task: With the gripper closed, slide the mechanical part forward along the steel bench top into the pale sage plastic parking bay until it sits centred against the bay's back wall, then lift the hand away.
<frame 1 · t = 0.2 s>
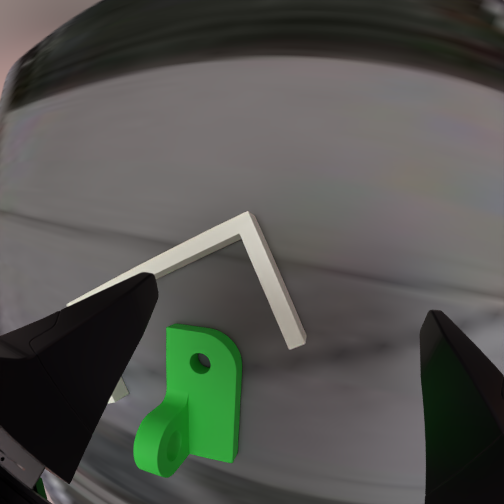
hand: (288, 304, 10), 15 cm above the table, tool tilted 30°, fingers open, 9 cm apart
parking bay: (176, 320, 26), on the table
mechanical part: (208, 391, 26), on the table
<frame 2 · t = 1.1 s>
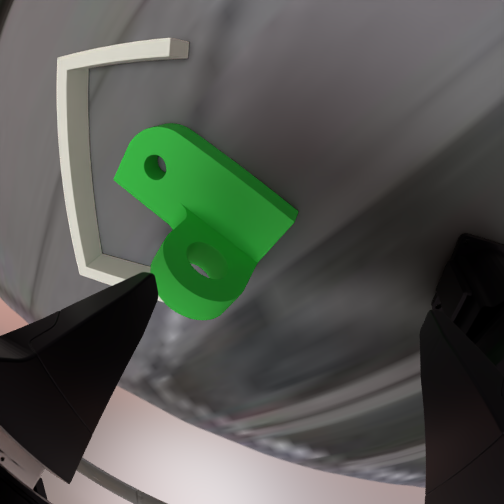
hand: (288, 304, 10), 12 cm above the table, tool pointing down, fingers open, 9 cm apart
parking bay: (127, 170, 23), on the table
mechanical part: (206, 187, 22), on the table
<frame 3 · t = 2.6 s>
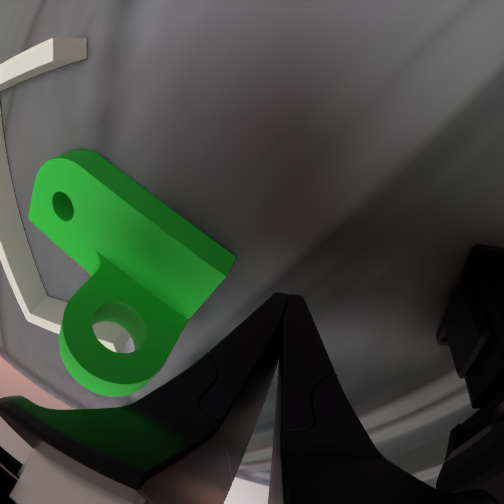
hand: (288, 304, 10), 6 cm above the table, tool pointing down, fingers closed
parking bay: (48, 204, 17), on the table
mechanical part: (127, 224, 17), on the table
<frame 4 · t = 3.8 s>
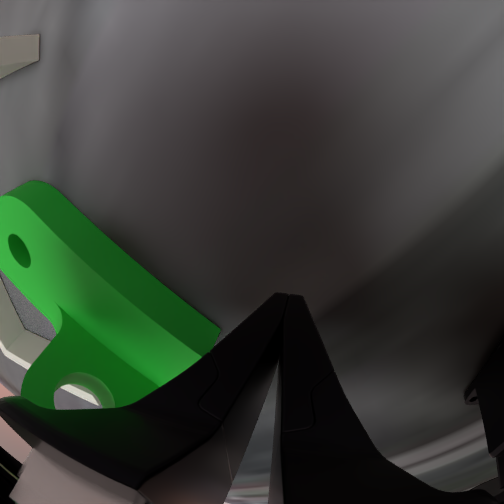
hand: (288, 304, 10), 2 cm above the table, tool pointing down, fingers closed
mug: (494, 485, 19), on the table
parking bay: (12, 235, 14), on the table
mechanical part: (94, 273, 14), on the table
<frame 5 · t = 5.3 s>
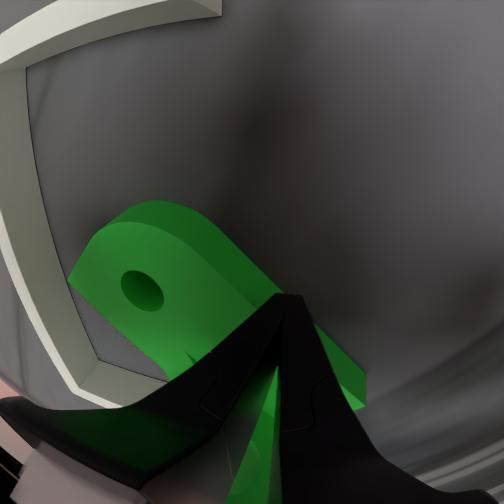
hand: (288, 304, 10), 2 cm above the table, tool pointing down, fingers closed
parking bay: (113, 251, 12), on the table
mechanical part: (227, 315, 13), on the table, touching gripper
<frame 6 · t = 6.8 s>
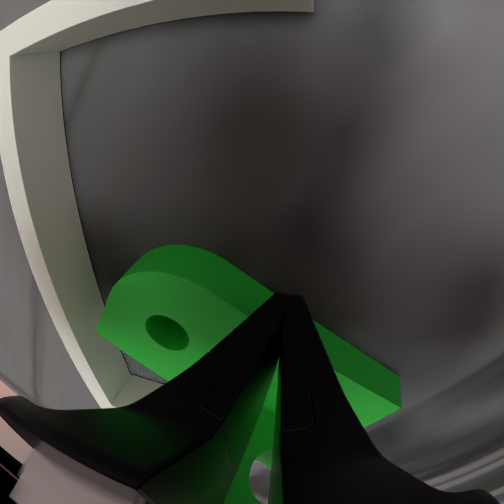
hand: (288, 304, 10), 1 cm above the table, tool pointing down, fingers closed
parking bay: (165, 261, 12), on the table
mechanical part: (254, 341, 13), on the table
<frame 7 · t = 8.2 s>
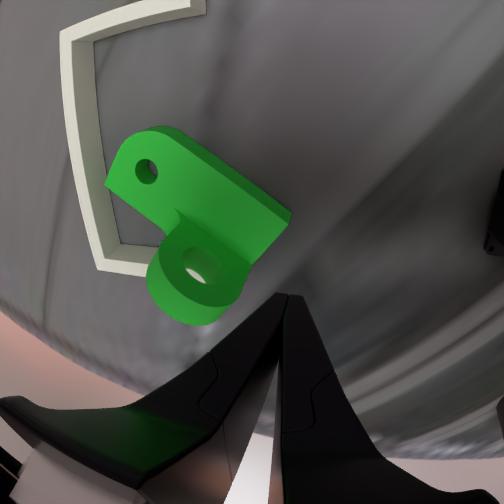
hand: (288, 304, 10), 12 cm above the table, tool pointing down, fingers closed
parking bay: (144, 142, 20), on the table
mechanical part: (198, 189, 22), on the table
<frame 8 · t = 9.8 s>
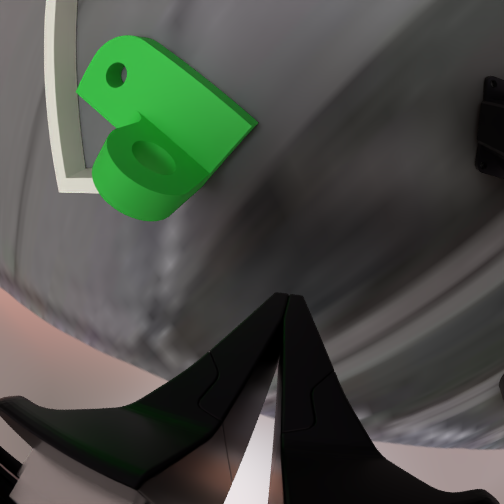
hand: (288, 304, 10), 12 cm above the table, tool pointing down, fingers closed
parking bay: (114, 59, 18), on the table
mechanical part: (166, 99, 19), on the table
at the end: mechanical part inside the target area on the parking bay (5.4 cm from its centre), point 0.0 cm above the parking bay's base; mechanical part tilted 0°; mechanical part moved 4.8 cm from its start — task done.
